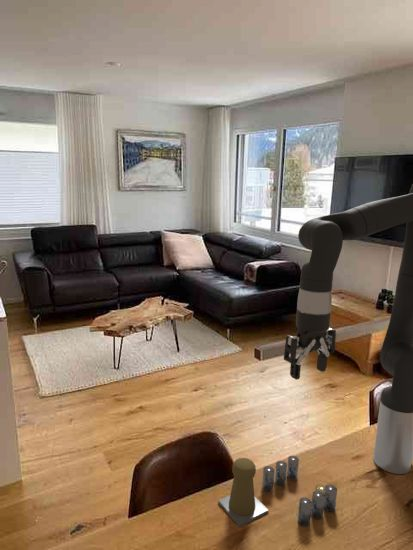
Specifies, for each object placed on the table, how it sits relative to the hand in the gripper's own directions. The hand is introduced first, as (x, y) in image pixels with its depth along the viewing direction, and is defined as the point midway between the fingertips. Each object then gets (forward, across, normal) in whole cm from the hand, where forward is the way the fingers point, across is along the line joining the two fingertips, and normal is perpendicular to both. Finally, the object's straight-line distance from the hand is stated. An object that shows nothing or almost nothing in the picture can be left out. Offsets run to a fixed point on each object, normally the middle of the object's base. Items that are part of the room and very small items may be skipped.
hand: (308, 374), depth 98 cm
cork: (+28, +18, 0) cm, 33 cm away
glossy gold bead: (+28, -2, +6) cm, 29 cm away
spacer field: (+28, +5, +4) cm, 29 cm away
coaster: (+28, +18, 0) cm, 33 cm away
